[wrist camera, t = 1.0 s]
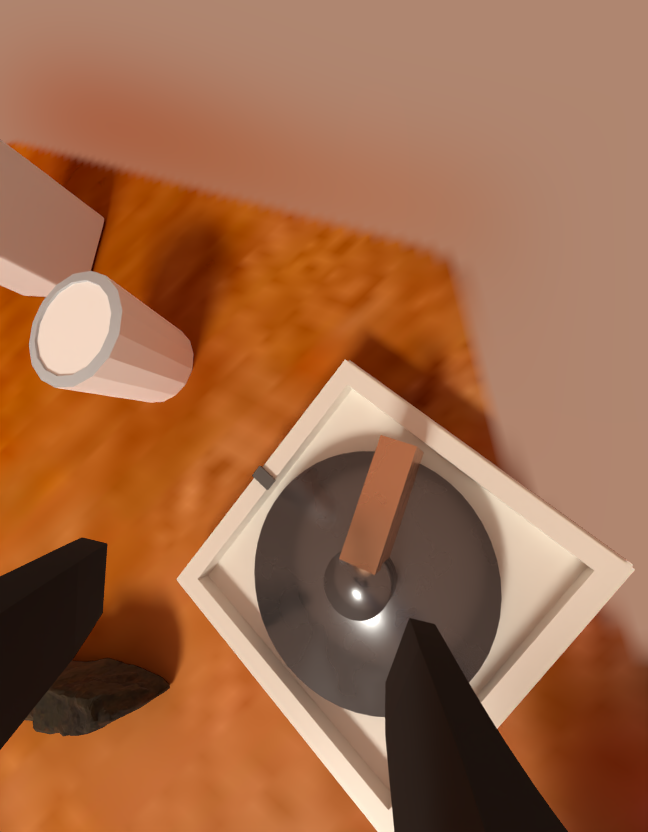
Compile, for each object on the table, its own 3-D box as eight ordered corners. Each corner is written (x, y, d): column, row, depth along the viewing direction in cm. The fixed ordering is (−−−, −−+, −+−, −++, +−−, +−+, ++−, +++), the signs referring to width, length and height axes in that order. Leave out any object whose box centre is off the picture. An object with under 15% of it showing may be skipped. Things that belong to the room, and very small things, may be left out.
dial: (453, 764, 17) (450, 834, 14) (231, 632, 22) (186, 660, 18) (537, 490, 18) (555, 490, 15) (306, 415, 23) (277, 401, 19)
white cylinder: (110, 356, 30) (14, 319, 24) (178, 300, 29) (95, 246, 23) (142, 430, 28) (45, 412, 22) (216, 373, 27) (137, 336, 20)
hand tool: (-37, 694, 30) (-122, 729, 25) (-30, 635, 30) (-112, 659, 26) (174, 732, 24) (111, 786, 20) (176, 659, 25) (116, 695, 20)
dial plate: (623, 560, 18) (645, 570, 16) (400, 818, 19) (392, 862, 17) (355, 366, 24) (343, 353, 21) (196, 572, 25) (169, 580, 23)
